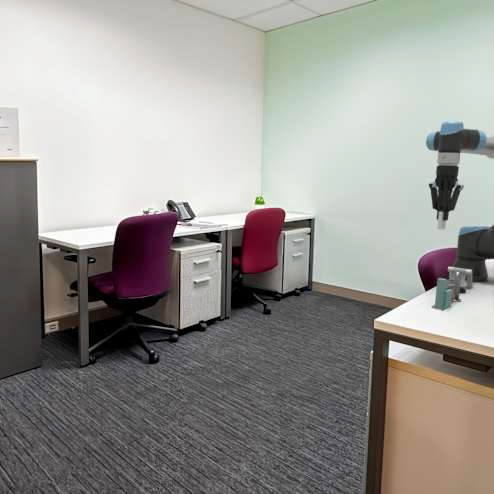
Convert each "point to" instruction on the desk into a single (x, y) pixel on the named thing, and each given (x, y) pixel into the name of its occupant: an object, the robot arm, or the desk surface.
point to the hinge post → (457, 281)
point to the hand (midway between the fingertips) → (441, 228)
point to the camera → (462, 290)
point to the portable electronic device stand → (462, 276)
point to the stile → (442, 295)
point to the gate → (453, 287)
